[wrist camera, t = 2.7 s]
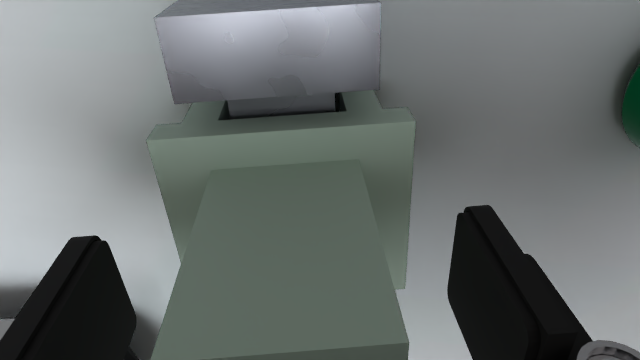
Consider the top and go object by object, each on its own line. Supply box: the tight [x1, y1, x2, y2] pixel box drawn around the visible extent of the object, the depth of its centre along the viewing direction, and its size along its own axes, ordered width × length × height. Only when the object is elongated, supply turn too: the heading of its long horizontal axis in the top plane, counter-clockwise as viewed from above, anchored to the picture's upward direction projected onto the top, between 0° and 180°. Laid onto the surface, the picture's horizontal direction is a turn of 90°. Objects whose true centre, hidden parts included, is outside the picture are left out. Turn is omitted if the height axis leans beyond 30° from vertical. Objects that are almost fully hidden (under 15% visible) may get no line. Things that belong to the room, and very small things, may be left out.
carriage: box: [146, 90, 416, 360], centre depth 12 cm, size 7×6×10 cm
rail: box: [154, 0, 381, 120], centre depth 18 cm, size 5×24×4 cm, turn 3°
